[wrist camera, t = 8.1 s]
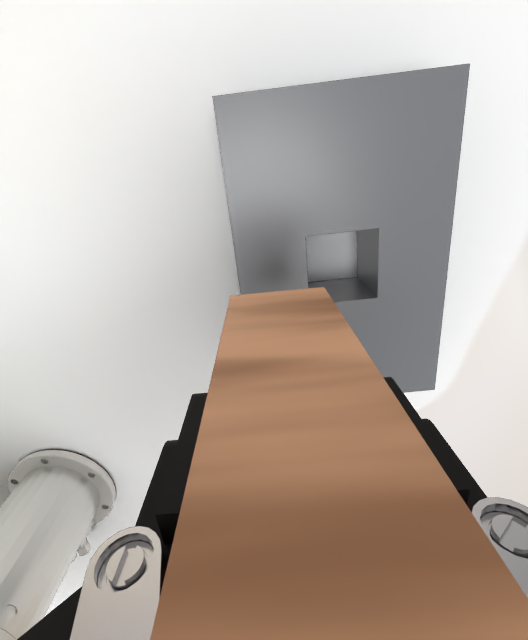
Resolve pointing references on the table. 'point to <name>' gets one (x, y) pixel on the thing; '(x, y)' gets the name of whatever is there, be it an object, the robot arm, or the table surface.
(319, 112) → the grey block with hole
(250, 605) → the wooden block
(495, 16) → the table surface
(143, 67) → the table surface
